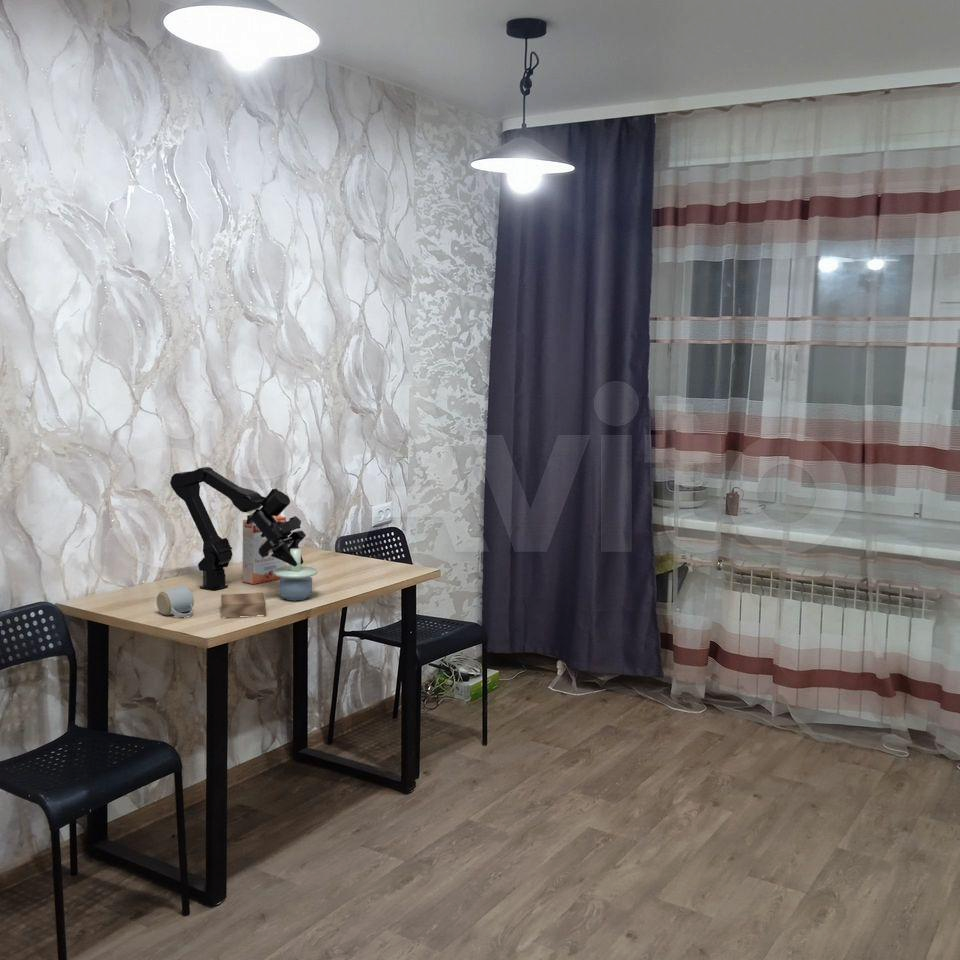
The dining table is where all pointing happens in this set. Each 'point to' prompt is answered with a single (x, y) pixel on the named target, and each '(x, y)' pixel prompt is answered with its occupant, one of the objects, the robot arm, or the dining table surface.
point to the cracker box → (258, 556)
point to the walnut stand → (243, 605)
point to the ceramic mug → (176, 601)
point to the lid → (295, 568)
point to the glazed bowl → (295, 588)
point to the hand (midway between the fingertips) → (299, 564)
